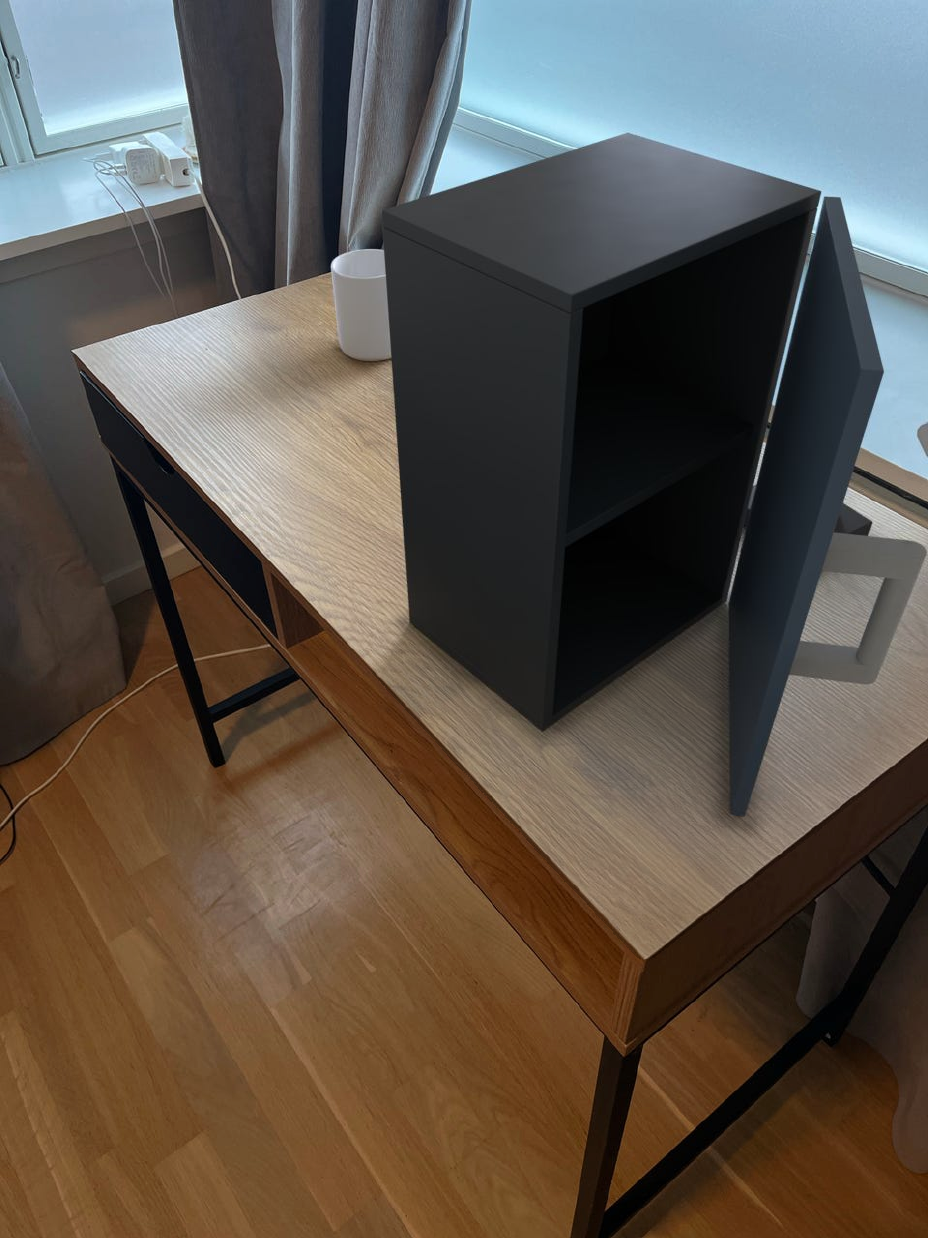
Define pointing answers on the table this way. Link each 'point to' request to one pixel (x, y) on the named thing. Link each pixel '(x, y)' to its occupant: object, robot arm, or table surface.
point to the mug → (362, 304)
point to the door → (810, 510)
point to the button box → (839, 520)
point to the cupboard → (584, 403)
